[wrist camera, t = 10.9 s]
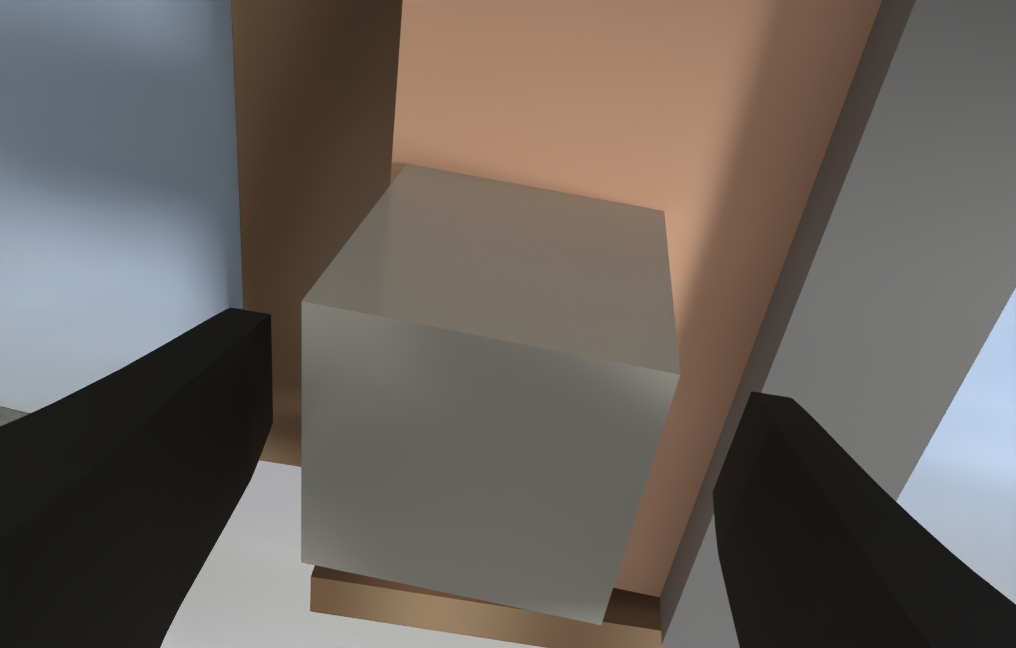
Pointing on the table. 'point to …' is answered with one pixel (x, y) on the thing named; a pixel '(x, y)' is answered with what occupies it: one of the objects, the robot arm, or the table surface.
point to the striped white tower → (9, 415)
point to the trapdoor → (754, 210)
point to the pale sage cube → (486, 391)
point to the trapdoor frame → (316, 242)
